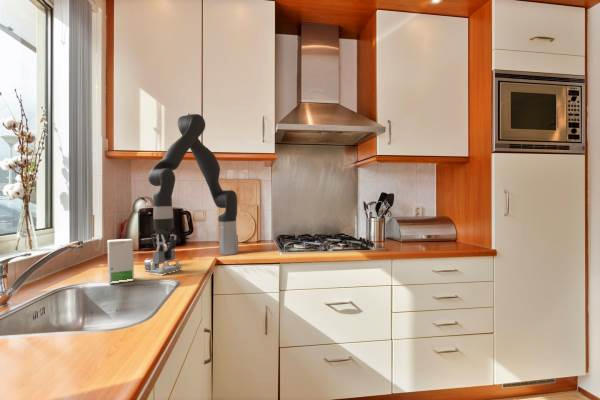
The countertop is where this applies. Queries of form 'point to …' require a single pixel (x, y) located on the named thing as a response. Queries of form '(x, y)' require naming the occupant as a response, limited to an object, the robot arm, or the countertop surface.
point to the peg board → (164, 268)
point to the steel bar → (162, 256)
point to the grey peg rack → (148, 260)
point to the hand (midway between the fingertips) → (164, 259)
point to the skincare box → (120, 259)
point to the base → (150, 267)
